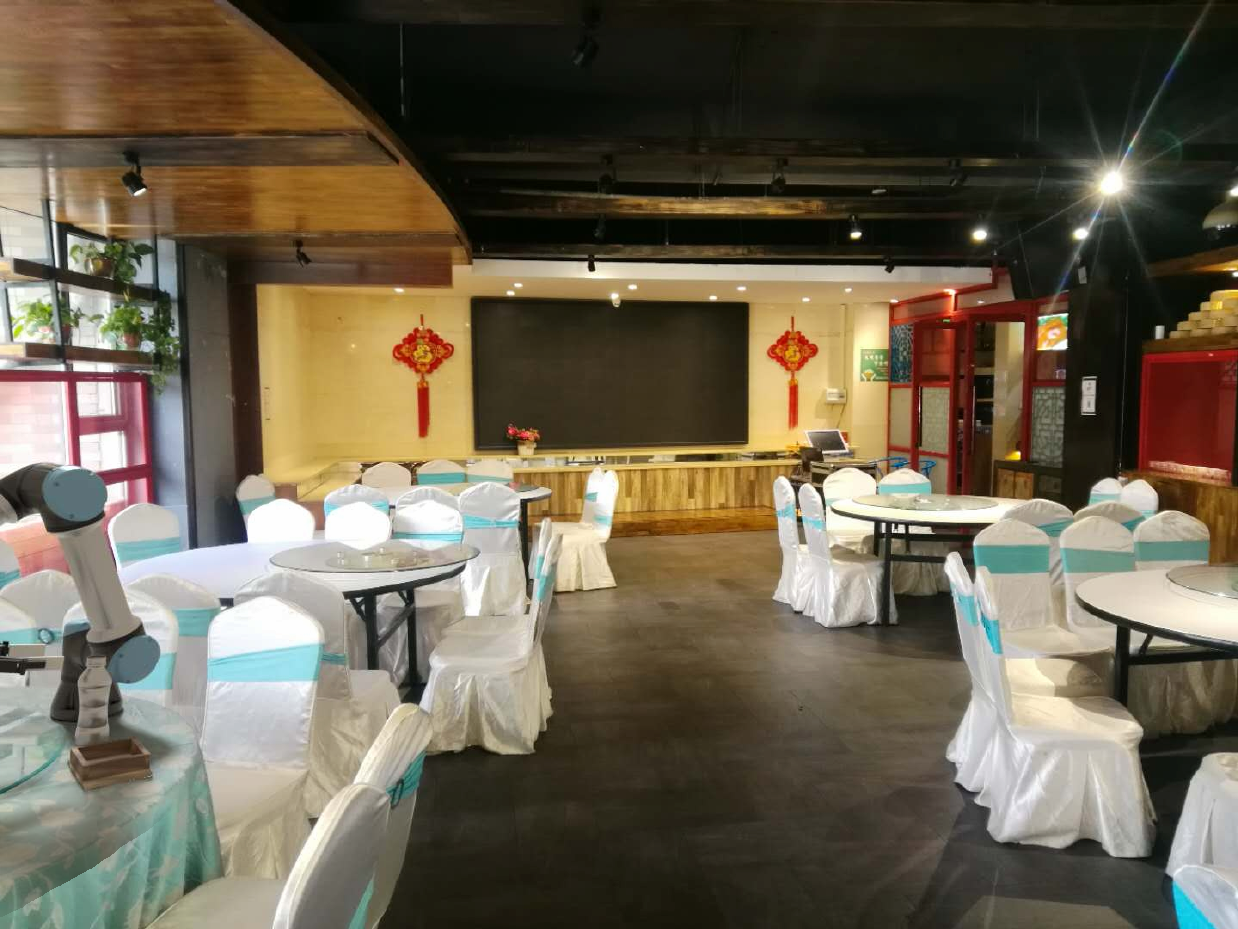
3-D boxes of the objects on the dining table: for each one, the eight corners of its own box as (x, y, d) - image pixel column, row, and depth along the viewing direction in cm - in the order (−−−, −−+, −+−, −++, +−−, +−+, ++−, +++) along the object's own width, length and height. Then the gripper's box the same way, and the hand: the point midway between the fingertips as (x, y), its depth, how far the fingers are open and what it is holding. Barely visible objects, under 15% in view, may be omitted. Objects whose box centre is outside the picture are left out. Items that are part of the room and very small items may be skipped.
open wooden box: (67, 763, 176) (68, 744, 176) (131, 752, 184) (132, 734, 184) (84, 790, 164) (85, 770, 164) (152, 776, 173) (153, 757, 172)
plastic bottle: (92, 753, 182) (97, 662, 181) (66, 749, 183) (71, 658, 183) (116, 743, 188) (121, 655, 188) (90, 739, 190) (95, 651, 189)
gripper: (-88, 665, 172) (34, 662, 187) (-64, 693, 155) (67, 687, 171) (-81, 629, 172) (40, 629, 188) (-56, 652, 155) (74, 650, 171)
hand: (53, 656), depth 179 cm, fingers open, 13 cm apart
